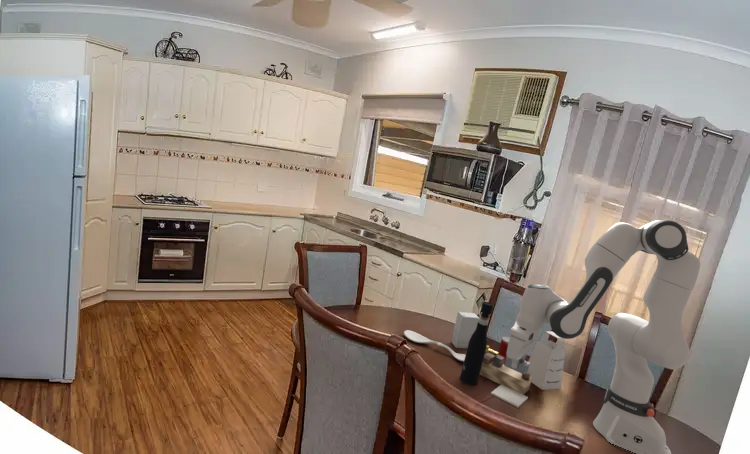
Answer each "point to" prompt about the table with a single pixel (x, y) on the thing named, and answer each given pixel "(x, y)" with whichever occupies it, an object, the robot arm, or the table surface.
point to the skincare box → (464, 329)
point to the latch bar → (491, 351)
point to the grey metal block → (522, 365)
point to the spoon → (422, 339)
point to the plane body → (504, 374)
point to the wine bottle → (476, 348)
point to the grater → (547, 362)
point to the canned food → (503, 348)
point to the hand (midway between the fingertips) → (517, 365)
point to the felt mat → (509, 395)
